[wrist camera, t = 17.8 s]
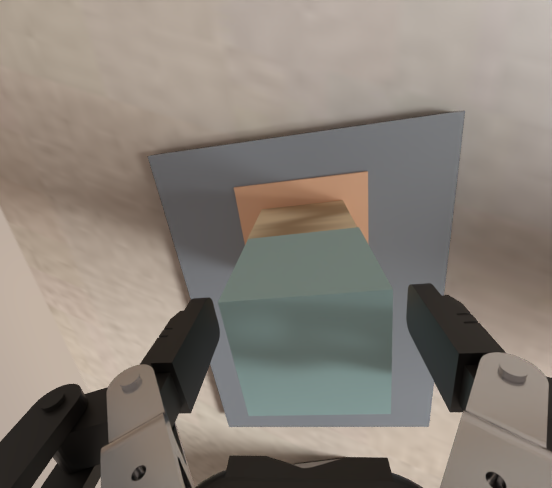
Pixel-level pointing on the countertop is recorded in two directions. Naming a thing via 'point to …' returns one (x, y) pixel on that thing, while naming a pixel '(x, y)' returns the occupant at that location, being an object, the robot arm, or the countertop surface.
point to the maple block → (302, 219)
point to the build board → (317, 189)
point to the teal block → (310, 325)
